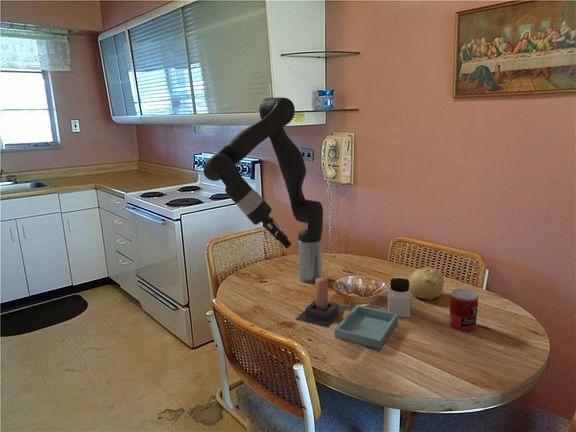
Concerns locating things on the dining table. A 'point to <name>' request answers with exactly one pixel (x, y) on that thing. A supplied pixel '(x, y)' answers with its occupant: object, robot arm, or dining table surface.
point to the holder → (321, 314)
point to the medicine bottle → (399, 297)
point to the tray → (367, 327)
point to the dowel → (321, 293)
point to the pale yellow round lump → (426, 283)
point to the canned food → (463, 309)
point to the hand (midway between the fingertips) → (287, 243)
